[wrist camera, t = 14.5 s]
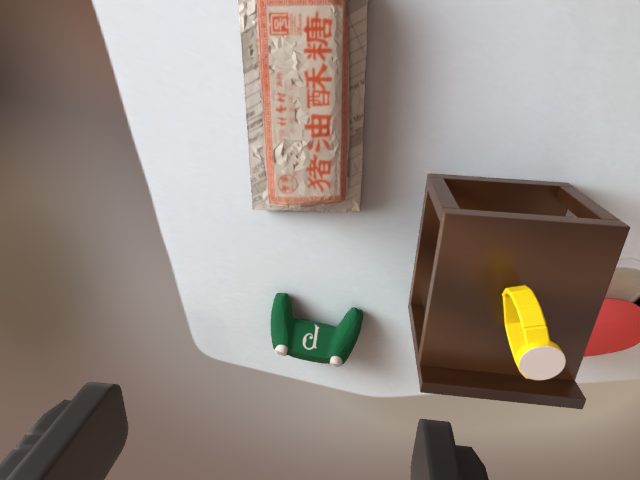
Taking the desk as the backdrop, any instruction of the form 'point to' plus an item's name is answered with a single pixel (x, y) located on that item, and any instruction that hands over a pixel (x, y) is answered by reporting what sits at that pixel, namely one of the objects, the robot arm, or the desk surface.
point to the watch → (530, 335)
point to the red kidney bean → (615, 328)
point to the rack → (506, 282)
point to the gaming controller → (313, 335)
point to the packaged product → (304, 102)
